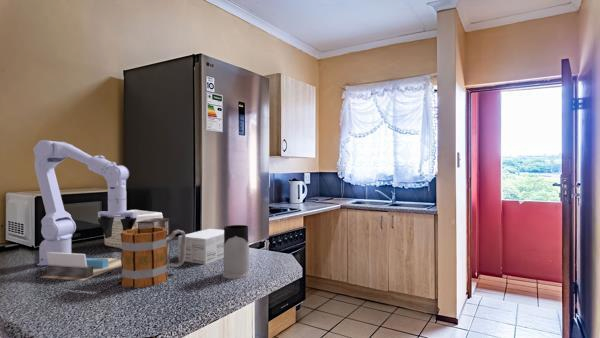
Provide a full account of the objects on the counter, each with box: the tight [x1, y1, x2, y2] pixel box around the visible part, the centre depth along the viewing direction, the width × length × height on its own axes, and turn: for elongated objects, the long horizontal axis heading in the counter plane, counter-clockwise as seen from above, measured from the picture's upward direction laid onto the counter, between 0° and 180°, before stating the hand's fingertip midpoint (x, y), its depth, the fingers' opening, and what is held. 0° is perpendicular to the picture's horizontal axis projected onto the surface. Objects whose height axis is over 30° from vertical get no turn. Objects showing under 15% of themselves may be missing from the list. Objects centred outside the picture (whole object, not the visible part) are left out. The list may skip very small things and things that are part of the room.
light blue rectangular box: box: [86, 257, 108, 269], centre depth 119 cm, size 8×2×2 cm, turn 77°
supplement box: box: [177, 228, 224, 265], centre depth 133 cm, size 17×13×9 cm
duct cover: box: [46, 252, 88, 268], centre depth 108 cm, size 14×4×1 cm
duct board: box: [40, 257, 122, 281], centre depth 118 cm, size 16×24×4 cm, turn 167°
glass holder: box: [222, 224, 252, 280], centre depth 113 cm, size 9×14×15 cm, turn 9°
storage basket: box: [103, 209, 164, 250], centre depth 156 cm, size 24×16×15 cm
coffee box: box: [138, 217, 171, 263], centre depth 122 cm, size 9×6×16 cm
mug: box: [120, 227, 186, 289], centre depth 108 cm, size 20×14×15 cm
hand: (117, 237), depth 124 cm, fingers open, 7 cm apart
